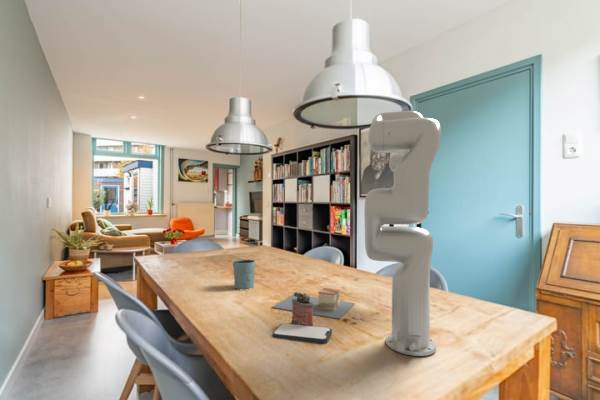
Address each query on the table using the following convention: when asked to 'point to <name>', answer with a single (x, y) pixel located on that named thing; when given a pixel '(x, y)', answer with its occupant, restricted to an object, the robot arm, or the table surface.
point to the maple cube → (329, 299)
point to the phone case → (303, 333)
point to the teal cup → (244, 273)
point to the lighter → (302, 310)
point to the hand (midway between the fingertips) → (404, 232)
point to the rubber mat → (317, 307)
